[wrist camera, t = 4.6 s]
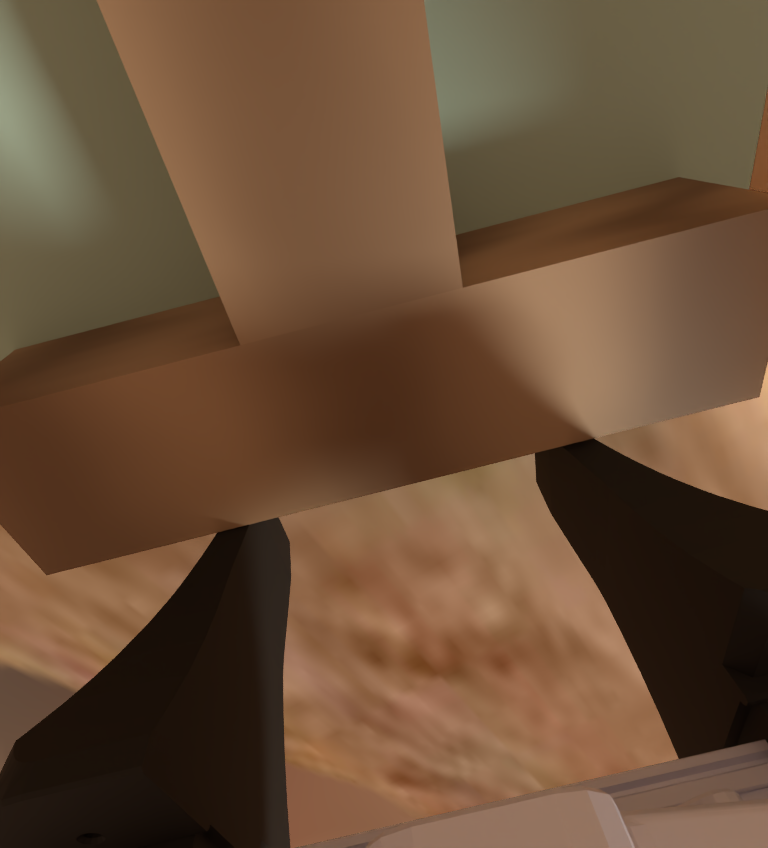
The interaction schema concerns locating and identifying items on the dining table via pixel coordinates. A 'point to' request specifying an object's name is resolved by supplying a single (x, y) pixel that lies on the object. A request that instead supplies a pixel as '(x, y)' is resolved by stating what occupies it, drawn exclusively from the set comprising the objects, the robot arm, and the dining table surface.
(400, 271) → the t block
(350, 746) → the dining table surface
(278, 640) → the robot arm
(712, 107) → the t mat
